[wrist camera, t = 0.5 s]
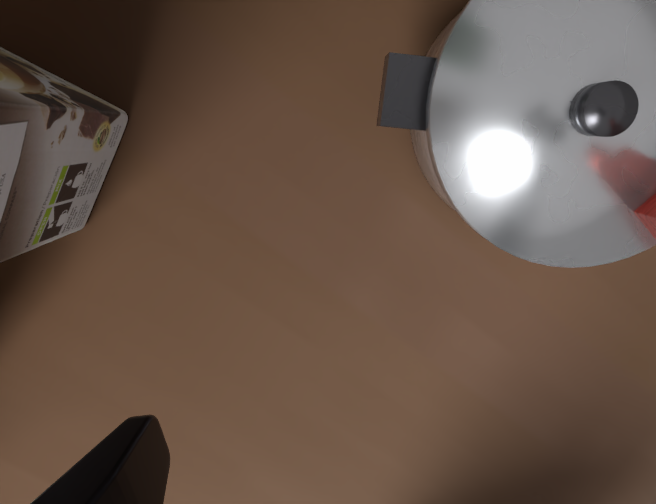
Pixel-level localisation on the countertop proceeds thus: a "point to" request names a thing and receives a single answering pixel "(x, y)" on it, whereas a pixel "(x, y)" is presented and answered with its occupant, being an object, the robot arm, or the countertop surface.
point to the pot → (411, 101)
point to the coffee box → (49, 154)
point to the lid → (549, 126)
